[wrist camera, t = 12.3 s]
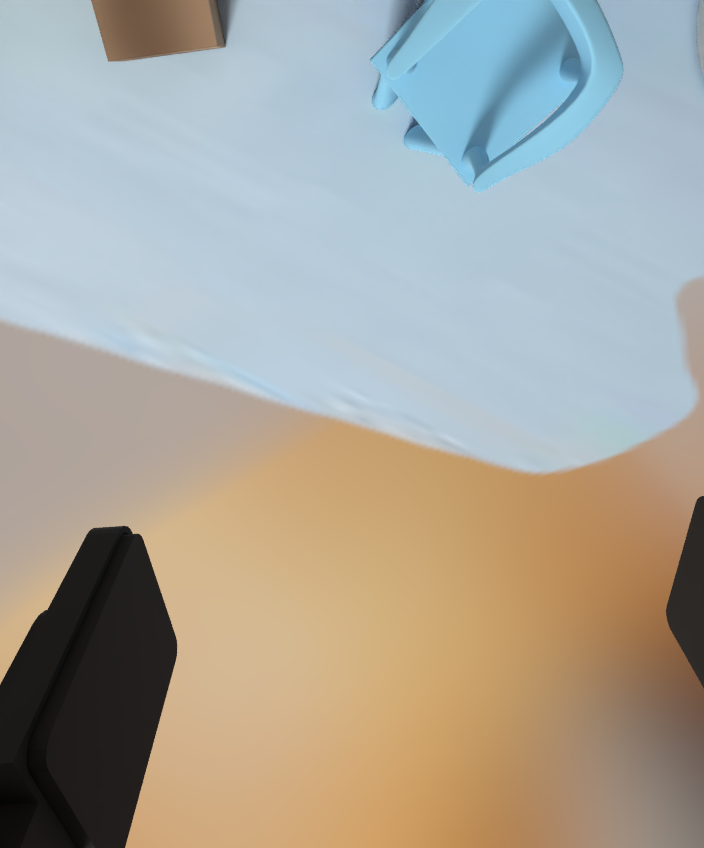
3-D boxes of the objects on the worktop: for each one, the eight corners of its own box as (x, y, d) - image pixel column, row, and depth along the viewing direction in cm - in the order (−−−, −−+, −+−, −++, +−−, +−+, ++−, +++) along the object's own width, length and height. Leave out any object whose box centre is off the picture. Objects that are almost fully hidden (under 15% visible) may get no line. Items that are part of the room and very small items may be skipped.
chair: (339, 62, 30) (342, 68, 20) (474, -83, 27) (559, -162, 17) (435, 184, 33) (481, 243, 23) (566, 64, 31) (684, 72, 20)
